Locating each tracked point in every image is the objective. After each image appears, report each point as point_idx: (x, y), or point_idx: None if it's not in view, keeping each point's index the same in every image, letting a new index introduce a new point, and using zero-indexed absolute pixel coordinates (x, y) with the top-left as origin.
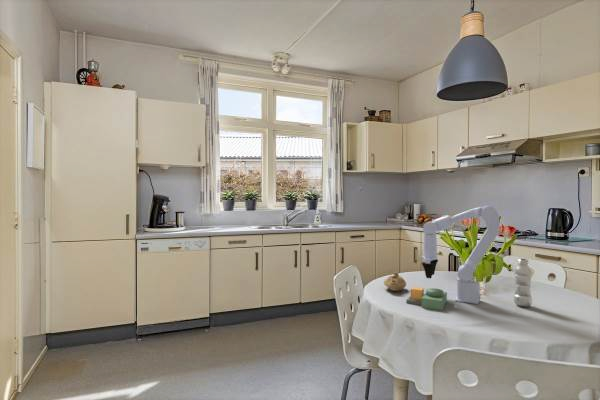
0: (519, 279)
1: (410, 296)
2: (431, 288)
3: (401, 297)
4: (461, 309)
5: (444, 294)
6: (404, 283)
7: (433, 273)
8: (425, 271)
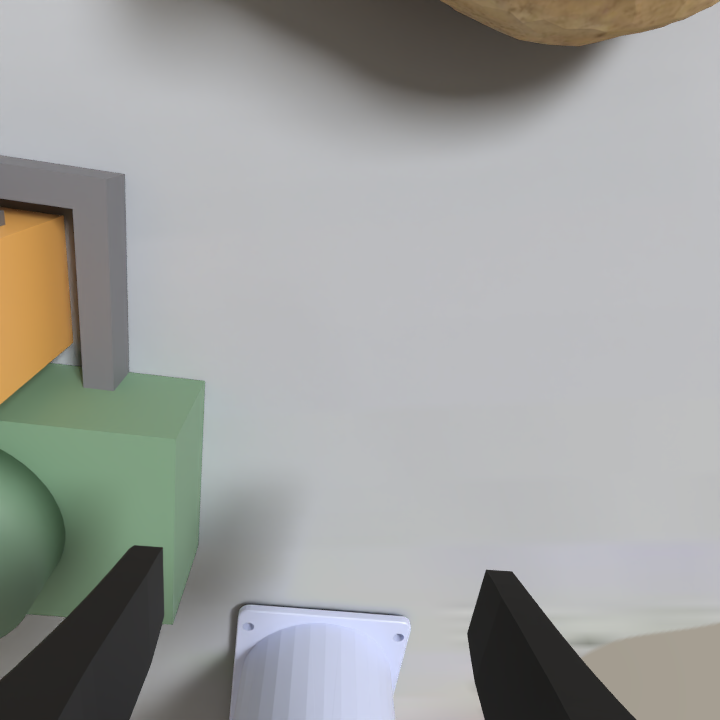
0: None
1: (6, 177)
2: (2, 528)
3: (81, 17)
4: (7, 641)
5: (60, 608)
6: (505, 5)
7: (475, 658)
8: (19, 671)
